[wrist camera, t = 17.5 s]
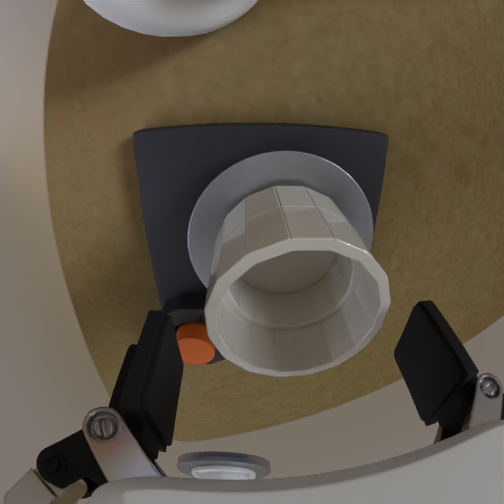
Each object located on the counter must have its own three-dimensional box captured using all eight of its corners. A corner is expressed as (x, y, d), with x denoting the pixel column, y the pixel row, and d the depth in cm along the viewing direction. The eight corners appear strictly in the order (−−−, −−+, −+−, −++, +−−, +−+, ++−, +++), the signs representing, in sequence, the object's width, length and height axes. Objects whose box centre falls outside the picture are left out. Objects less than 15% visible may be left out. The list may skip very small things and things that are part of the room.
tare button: (217, 348, 20) (216, 365, 19) (180, 347, 20) (177, 363, 19) (214, 321, 19) (212, 339, 17) (173, 320, 19) (169, 337, 17)
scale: (339, 331, 23) (348, 358, 21) (171, 334, 23) (164, 362, 20) (378, 131, 15) (402, 140, 12) (135, 130, 15) (115, 137, 12)
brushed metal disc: (352, 309, 18) (354, 313, 18) (198, 313, 18) (197, 317, 17) (383, 156, 13) (387, 158, 12) (180, 151, 13) (179, 152, 12)
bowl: (336, 295, 17) (363, 369, 12) (221, 298, 17) (214, 378, 12) (356, 185, 13) (411, 238, 8) (213, 182, 13) (195, 239, 8)
